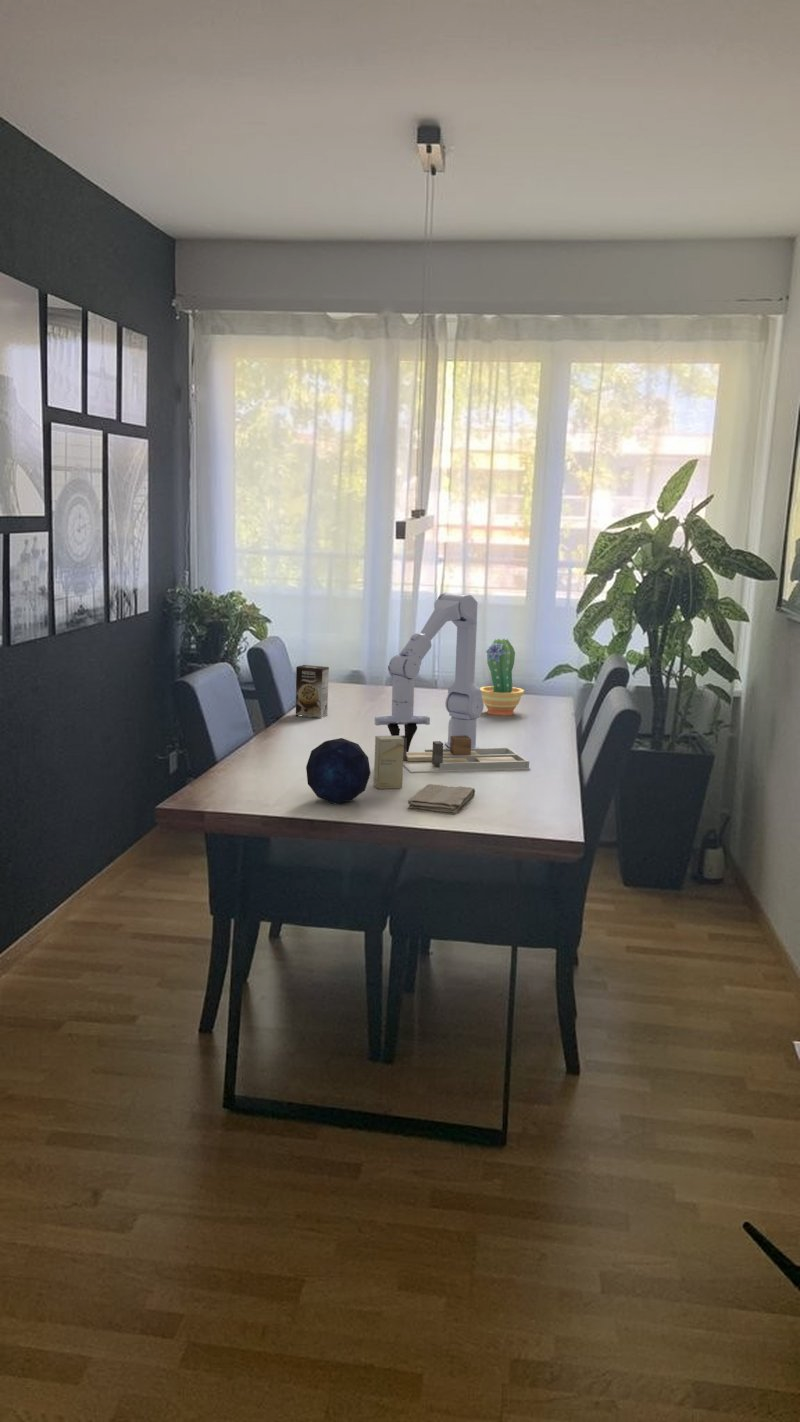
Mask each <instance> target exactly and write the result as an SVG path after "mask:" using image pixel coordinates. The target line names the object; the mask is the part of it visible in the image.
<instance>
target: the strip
mask: <svg viewBox="0 0 800 1422" xmlns="http://www.w3.org/2000/svg"><path fill="white" fill-rule="evenodd" d="M400 736H401V737H402V738H404V752H403V760H406V759H407V760H408V761H432V752H425V751H412V752H410V751H409V752H407V737H406V736H405V734H404V735H400ZM452 755H453V754H452V753H450V751H447V752H443V756H452ZM471 755H480V754H478V753H477V752H476V751H471Z"/></svg>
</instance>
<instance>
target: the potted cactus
mask: <svg viewBox="0 0 800 1422" xmlns="http://www.w3.org/2000/svg"><path fill="white" fill-rule="evenodd" d="M485 653H486V657H487V658H486V660H487V661H486V662H487V665H488V667H489V671H490V674H491V675H490V676H491V681H492V684H493V685H489V686H481V687H479V688H480V689H481V691H482V699H483V703H484V706H485V707H486V709H487V711H486V713H488V714H489V715H493V716H512V715H514V714H515V712H514V710H515V709H516V708H517V706H518V705H519V704H520V701H521V698H522V696H524V695H525V690H524V689H522V688H520V687H514V686H513V673H512V672H513V668H514V665H515V657H516V652H515V649H514V647H513V645H512V644H511V641H509V639H505V638H502V639H500V638H497V639H494V640H493V642H492V643H491V644H490V646H488V649H486V651H485Z"/></svg>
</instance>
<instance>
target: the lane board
mask: <svg viewBox="0 0 800 1422" xmlns="http://www.w3.org/2000/svg"><path fill="white" fill-rule="evenodd" d="M447 751H450V748H443V752H447ZM471 751H476V752H477V753H478V754H480V755H452V756H443V758H465V759H467V760H468V761H469V762H457V763H440V766H434V765H433V764H432V761H408V760H407V759H406V760H403V767H404V768H406V770H407V771H408V772H409V773H411V774H412V773H416V774H417V773H445V772H446V773H447V772H448V773H449V772H451V773H452V772H453V773H454V772H478V771H479V772H480V771H482V772H483V771H485V772H486V771H520V770H523V771H524V770H531V767H530V761H529V760H528V759H527V758H525V757H524V756H522V755H521V754H519V753H517V752H516V751H515V750H514V749H512V748H511V747H508V746H507V747H479V748H471ZM424 752H433V748H428V749H427V748H425V749H424ZM480 757H513V758H514V759H515V760H517V761H496V762H476V761H475V758H480Z"/></svg>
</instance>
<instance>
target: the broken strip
mask: <svg viewBox="0 0 800 1422" xmlns="http://www.w3.org/2000/svg"><path fill="white" fill-rule="evenodd" d="M432 749H433V752H432V764H433V765H434V766H440V763H457V762H469V761H468V760H467V759H465V758H443V749H444V742H442V741H440V740H433V741H432ZM475 761H476V762H496V761H517V760H515V759H514V758H513V757H480V758H475Z"/></svg>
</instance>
